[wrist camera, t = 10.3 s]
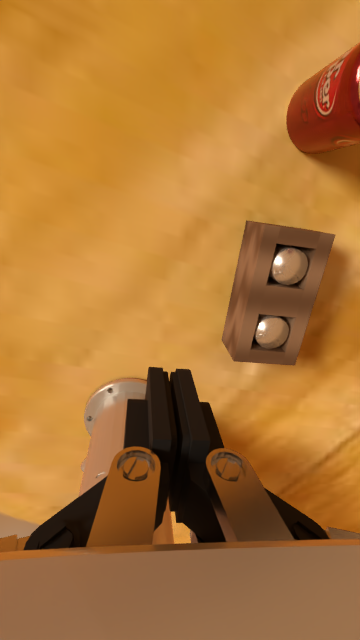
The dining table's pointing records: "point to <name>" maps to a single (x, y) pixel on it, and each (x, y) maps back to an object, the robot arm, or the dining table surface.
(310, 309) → the walnut block
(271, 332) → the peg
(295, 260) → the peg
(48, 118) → the dining table surface
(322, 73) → the soda can
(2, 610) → the robot arm
